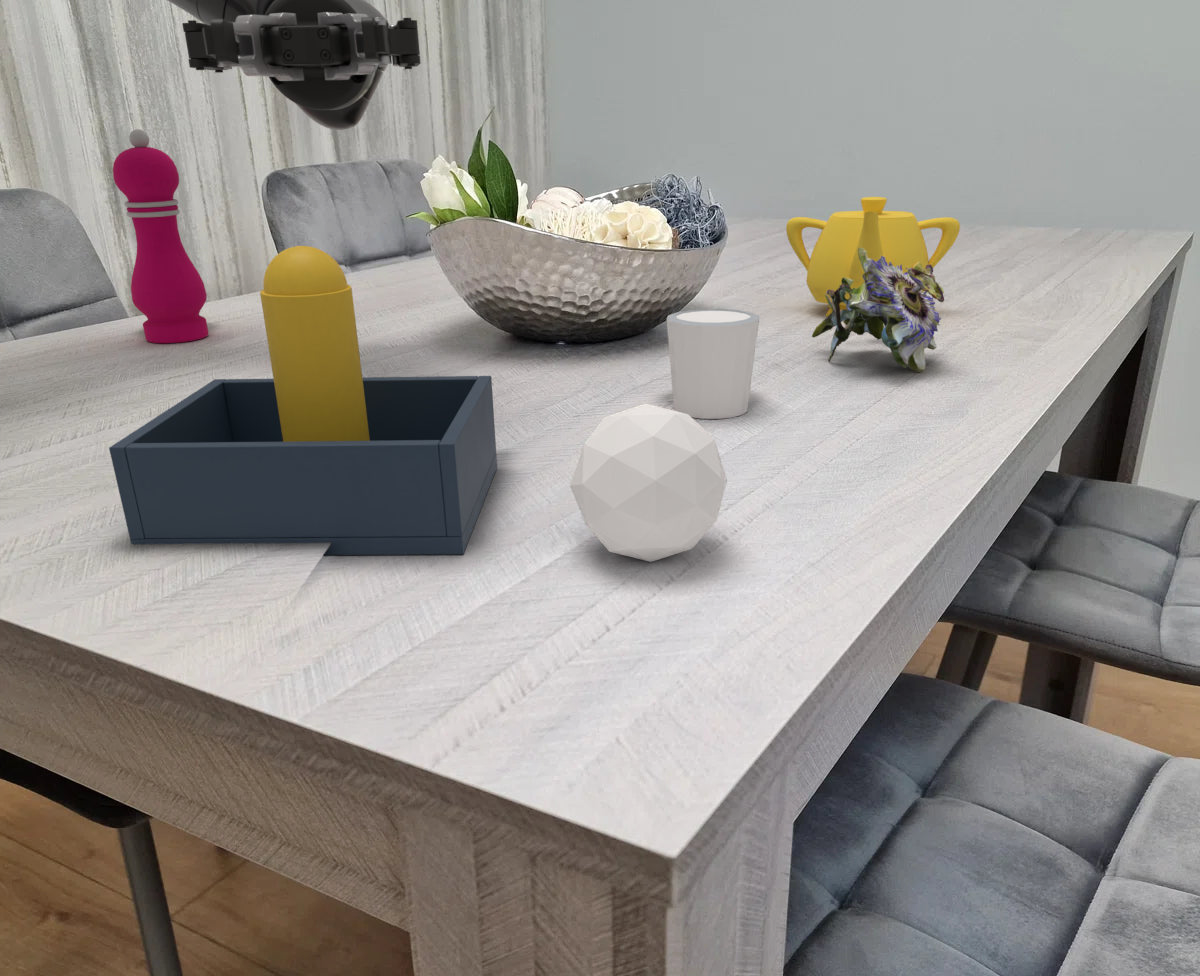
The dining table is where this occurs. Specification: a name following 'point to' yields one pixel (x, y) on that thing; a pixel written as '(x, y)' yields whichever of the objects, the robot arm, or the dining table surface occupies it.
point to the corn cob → (313, 347)
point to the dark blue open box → (314, 470)
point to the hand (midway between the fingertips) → (294, 39)
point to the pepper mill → (159, 246)
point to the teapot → (865, 244)
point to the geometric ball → (649, 482)
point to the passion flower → (888, 309)
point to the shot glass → (712, 361)
